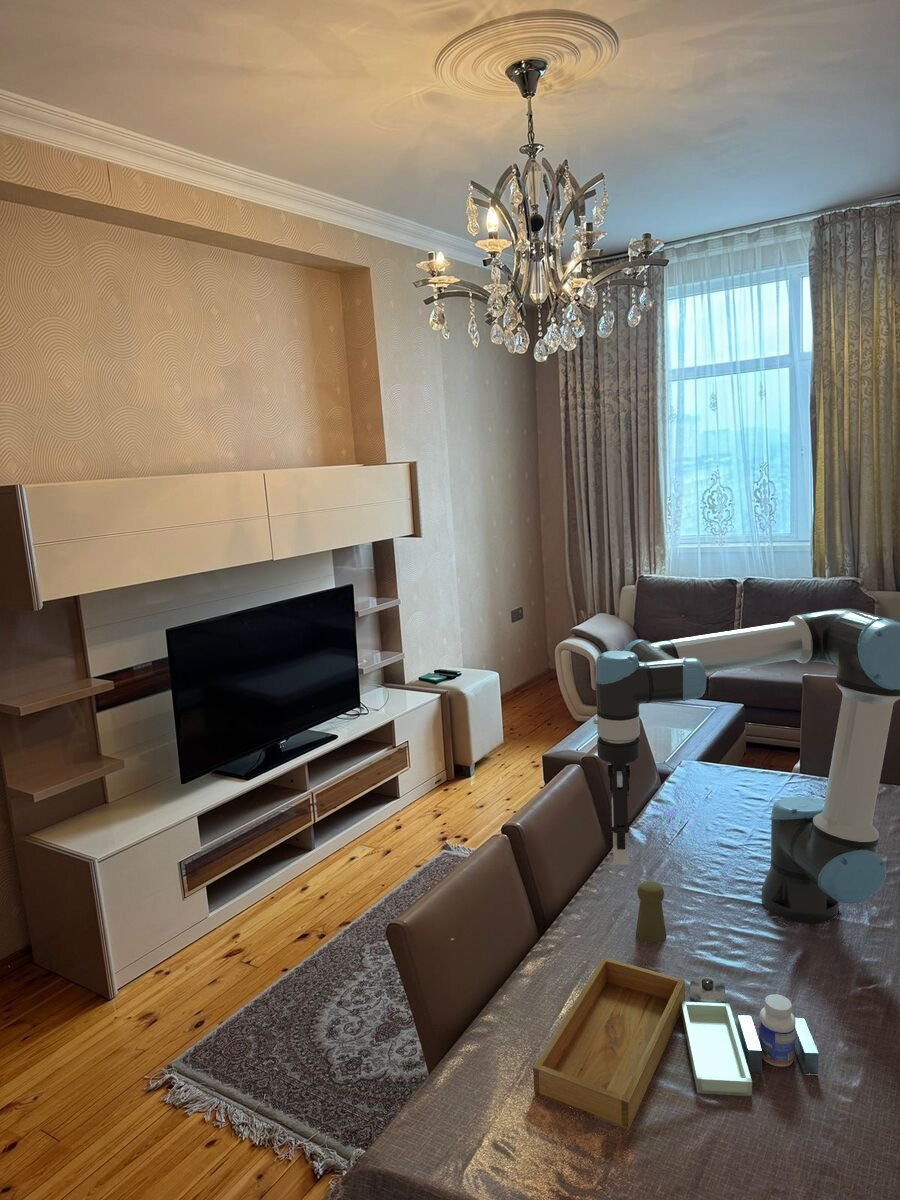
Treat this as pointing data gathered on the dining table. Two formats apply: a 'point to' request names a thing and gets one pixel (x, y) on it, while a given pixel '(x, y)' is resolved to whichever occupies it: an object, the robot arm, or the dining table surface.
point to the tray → (610, 1042)
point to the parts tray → (715, 1049)
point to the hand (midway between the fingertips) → (620, 845)
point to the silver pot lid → (707, 990)
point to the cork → (650, 913)
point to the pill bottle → (777, 1031)
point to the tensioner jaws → (753, 1050)
